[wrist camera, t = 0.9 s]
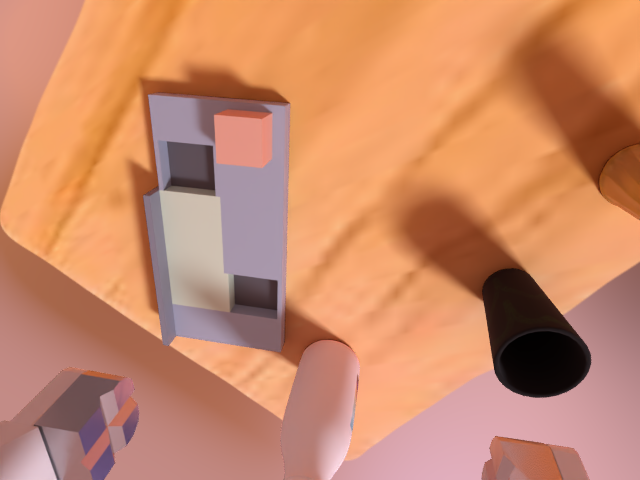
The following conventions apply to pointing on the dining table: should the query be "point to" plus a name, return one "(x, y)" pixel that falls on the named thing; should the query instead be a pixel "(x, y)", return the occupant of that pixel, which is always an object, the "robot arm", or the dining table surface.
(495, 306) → the cup
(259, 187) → the board
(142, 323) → the dining table surface
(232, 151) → the block
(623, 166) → the vase
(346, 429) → the milk bottle
